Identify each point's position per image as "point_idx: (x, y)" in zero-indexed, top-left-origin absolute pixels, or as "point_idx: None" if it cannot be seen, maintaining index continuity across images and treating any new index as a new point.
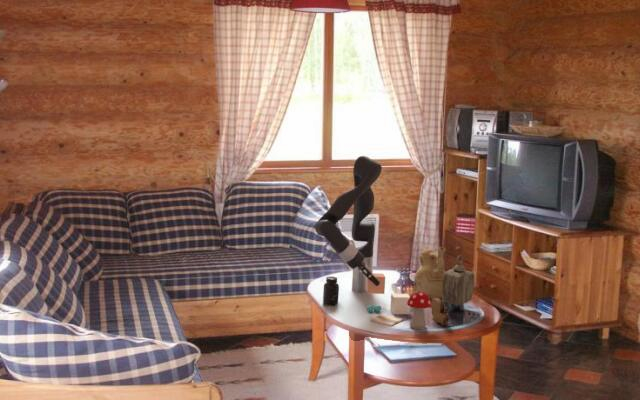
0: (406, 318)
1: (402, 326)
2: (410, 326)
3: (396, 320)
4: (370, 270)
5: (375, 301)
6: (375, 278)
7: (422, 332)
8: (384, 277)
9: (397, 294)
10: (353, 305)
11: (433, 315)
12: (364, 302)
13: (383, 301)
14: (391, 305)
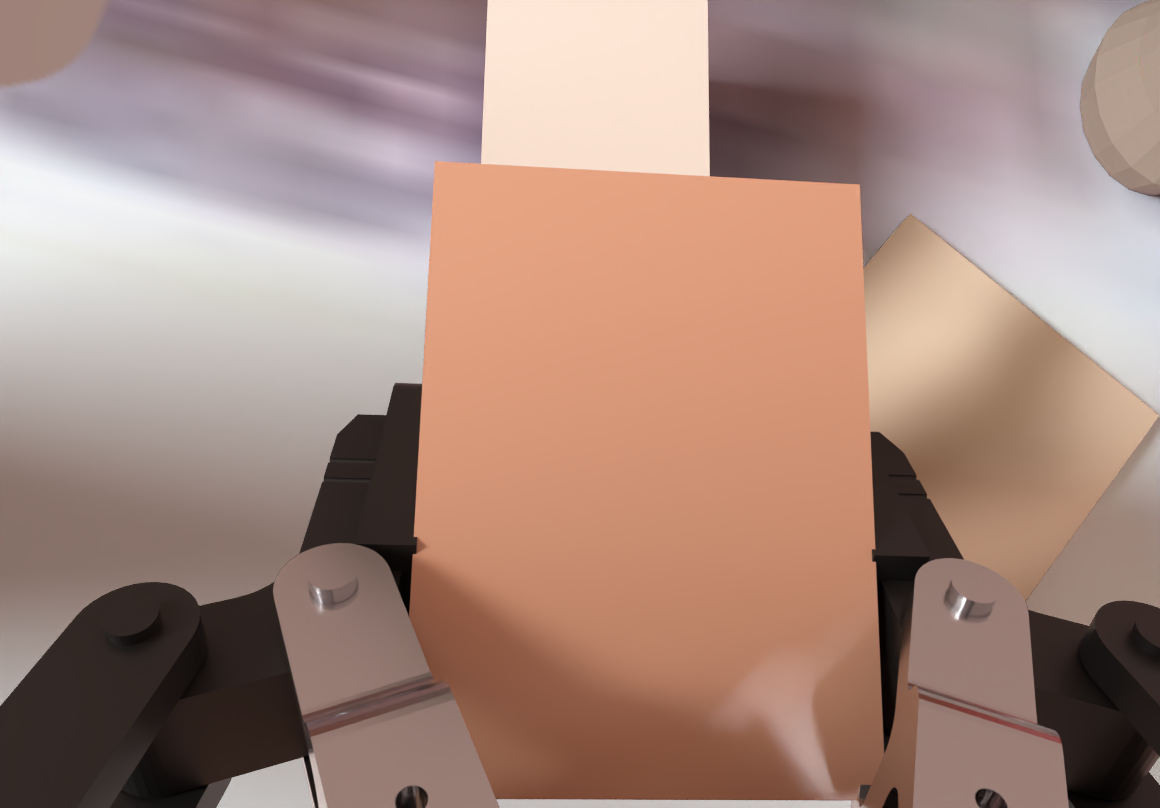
0: (829, 158)
1: (1140, 286)
2: (1157, 194)
3: (984, 312)
4: (1062, 787)
5: (44, 395)
6: (908, 531)
7: None
8: (849, 217)
9: (526, 75)
10: (223, 794)
11: None
12: (78, 580)
13: (58, 276)
14: None
